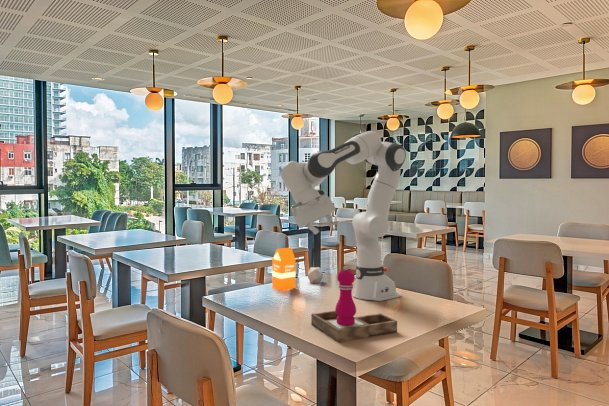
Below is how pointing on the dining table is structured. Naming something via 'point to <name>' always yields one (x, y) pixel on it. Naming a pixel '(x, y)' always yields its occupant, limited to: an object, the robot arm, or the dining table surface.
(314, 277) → the die
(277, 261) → the orange juice
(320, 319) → the box
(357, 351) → the dining table surface
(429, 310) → the dining table surface
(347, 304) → the pepper mill
